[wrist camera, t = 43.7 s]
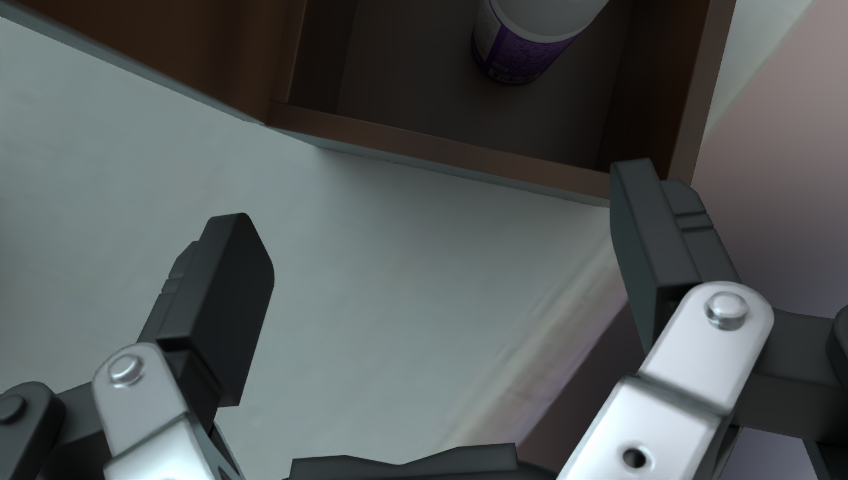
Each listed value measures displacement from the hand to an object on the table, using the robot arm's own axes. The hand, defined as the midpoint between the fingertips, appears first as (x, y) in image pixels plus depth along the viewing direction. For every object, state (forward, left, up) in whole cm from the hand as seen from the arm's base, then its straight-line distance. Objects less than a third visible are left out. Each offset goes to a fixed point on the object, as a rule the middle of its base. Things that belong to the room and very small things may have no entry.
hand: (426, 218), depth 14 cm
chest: (+1, +10, -22) cm, 24 cm away
